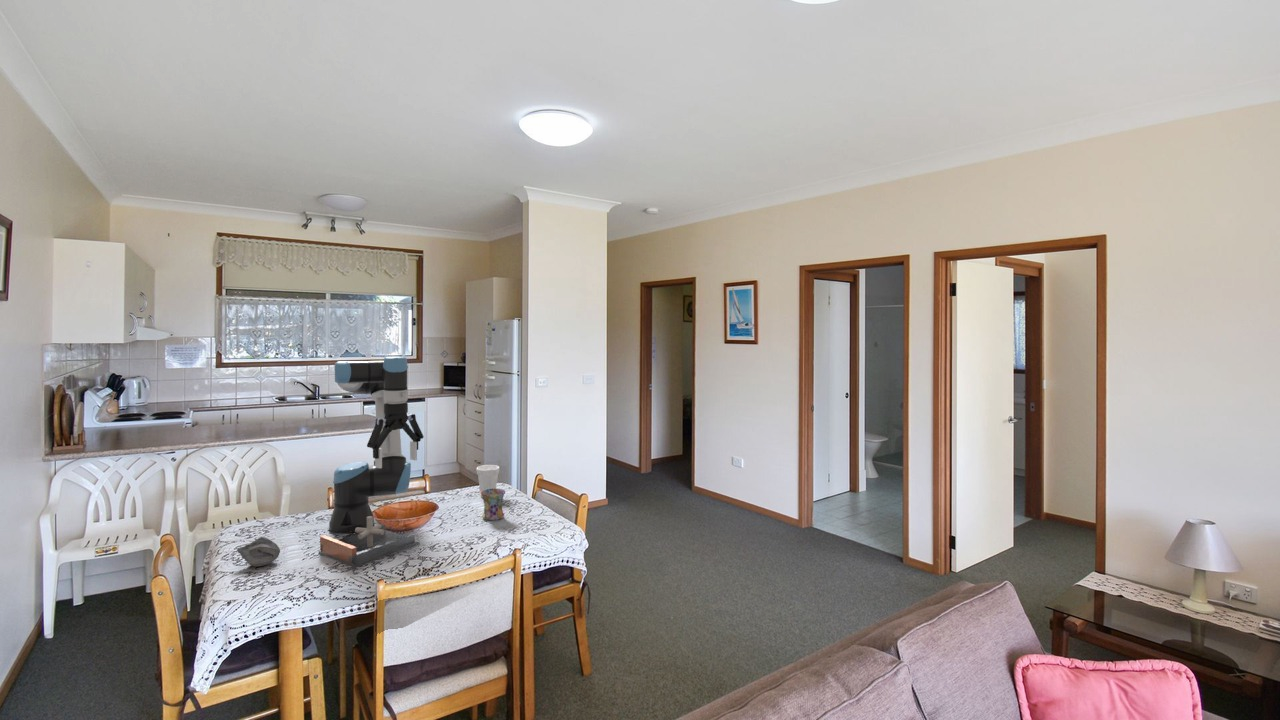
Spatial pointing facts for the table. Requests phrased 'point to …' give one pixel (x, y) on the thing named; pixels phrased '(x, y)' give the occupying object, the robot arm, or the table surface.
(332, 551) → the guide channel
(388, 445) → the robot arm
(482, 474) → the cup
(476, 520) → the table surface
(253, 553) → the fossil
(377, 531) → the pipe connector
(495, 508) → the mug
